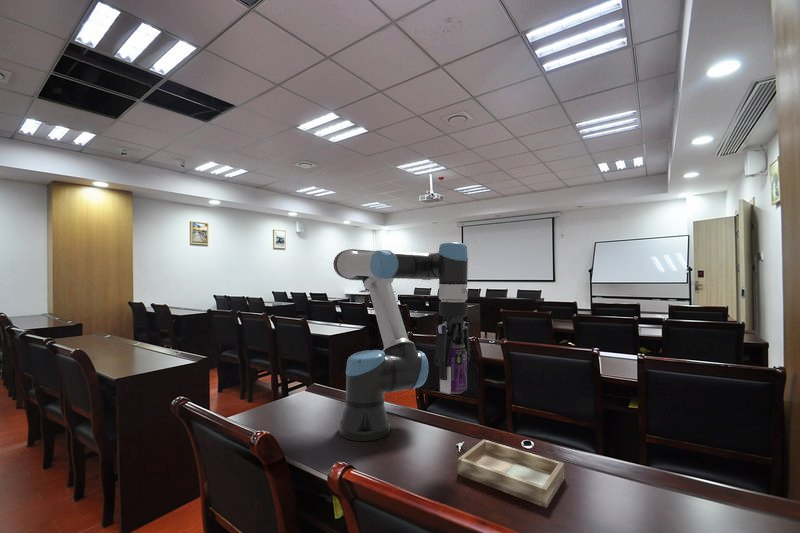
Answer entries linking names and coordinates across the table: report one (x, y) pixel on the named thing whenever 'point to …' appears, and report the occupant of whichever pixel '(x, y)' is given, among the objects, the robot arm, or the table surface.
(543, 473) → the crate
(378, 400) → the robot arm
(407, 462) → the table surface
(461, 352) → the beverage can
